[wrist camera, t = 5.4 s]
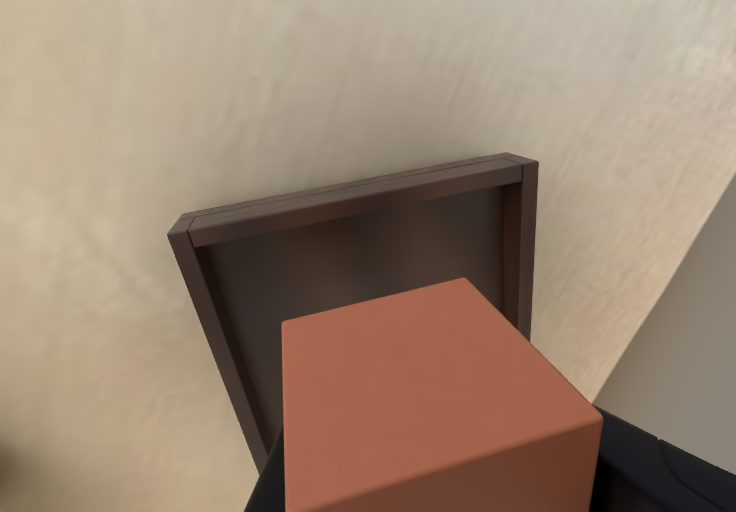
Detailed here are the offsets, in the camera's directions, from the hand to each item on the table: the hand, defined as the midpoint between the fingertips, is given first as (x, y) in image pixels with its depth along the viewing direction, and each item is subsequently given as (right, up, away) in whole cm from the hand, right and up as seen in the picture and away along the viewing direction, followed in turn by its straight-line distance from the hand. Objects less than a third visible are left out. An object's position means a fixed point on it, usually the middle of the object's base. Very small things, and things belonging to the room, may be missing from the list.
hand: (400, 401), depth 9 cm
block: (0, 0, +1) cm, 1 cm away
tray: (0, -2, +13) cm, 13 cm away
